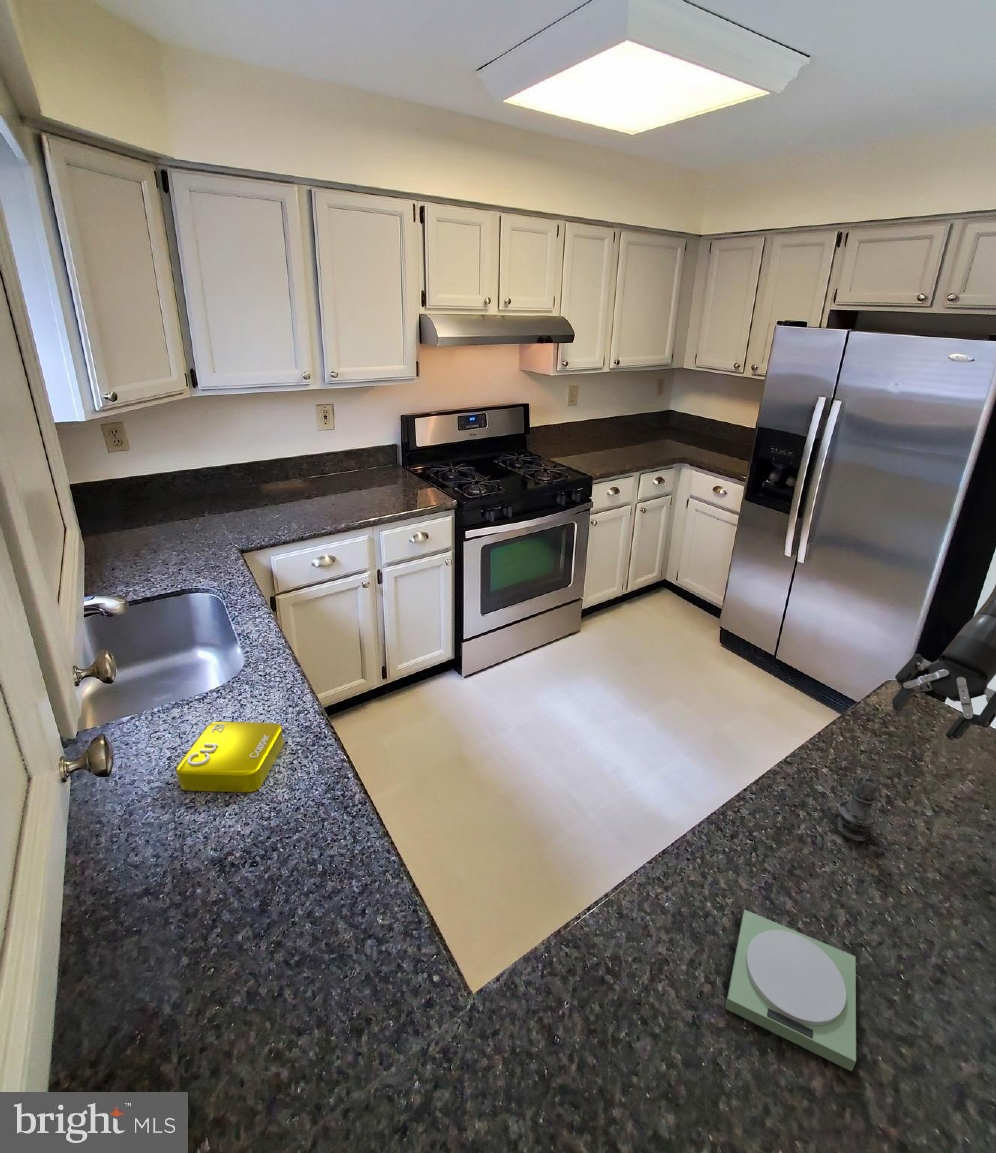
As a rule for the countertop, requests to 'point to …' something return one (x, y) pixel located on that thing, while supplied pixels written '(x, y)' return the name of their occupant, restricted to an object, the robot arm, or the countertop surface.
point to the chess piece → (858, 810)
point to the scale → (795, 988)
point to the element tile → (231, 757)
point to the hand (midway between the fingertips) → (921, 723)
